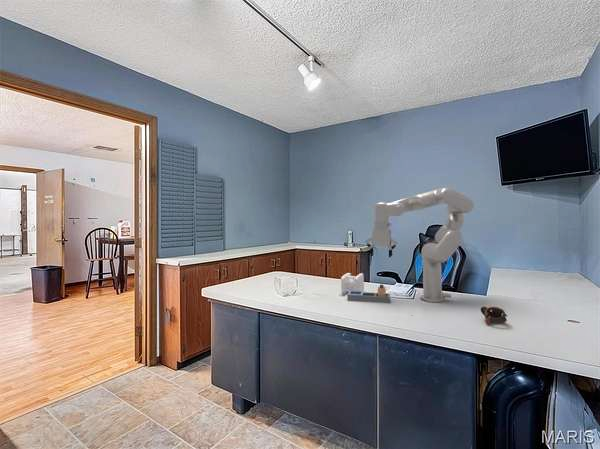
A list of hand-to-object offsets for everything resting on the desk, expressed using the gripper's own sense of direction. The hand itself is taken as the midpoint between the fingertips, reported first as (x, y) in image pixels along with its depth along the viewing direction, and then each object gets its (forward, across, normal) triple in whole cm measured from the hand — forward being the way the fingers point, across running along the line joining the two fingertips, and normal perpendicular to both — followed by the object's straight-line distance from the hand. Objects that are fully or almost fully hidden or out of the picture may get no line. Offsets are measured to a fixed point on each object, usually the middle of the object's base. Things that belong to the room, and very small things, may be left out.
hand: (380, 256), depth 172 cm
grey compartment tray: (+26, +6, +3) cm, 26 cm away
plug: (+24, -1, +2) cm, 24 cm away
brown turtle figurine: (+24, -52, +14) cm, 59 cm away
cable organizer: (+26, +20, -13) cm, 35 cm away
